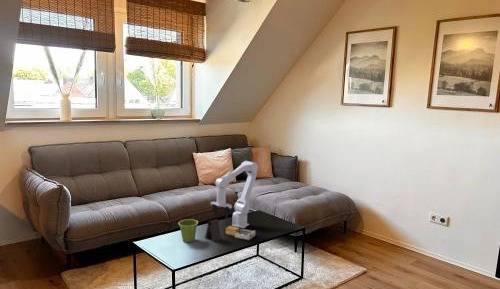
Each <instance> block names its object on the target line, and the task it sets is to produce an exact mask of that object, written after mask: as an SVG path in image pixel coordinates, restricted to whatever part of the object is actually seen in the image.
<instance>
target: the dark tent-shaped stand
mask: <svg viewBox="0 0 500 289" xmlns="http://www.w3.org/2000/svg"><path fill="white" fill-rule="evenodd" d="M219 223H220V221H219V219H217V218H216V219H215V218H214V219H212V220H208V222H207V226H206V227H207V228H206V231H205V235H204V239H205V240H208V241H211V242H212V243H216V242H218V241H221V240H222V234H221V230H220V225H219Z"/></svg>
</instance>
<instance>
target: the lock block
mask: <svg viewBox="0 0 500 289" xmlns="http://www.w3.org/2000/svg"><path fill="white" fill-rule="evenodd" d="M235 233H240V227H236V226H232V225H229V226H227V227H226V228H225V234H226V235H228V236H234V237H235Z"/></svg>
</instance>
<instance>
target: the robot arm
mask: <svg viewBox="0 0 500 289" xmlns="http://www.w3.org/2000/svg"><path fill="white" fill-rule="evenodd" d="M258 170H259V165H258V164H257V163H256V162H253V161H249V160H244V161H243V162H241V164H240V165H239V166H238V167H237V168H235V169H234V170H233V171H227V172H226V174H224V175H222V176H221V177H218V178H217V179H215V182H214V185H215V188H216V201H211V202H210V207H211V210H212V212H213V215H214V218H216V217H217V216H218V211H219V210H218V209H219V207H220V208H221V207H222V208H223V212H224V219H226V220H227V219H228V216H229V214H230V211H231V209H234V212H233V213H232V222H231V226H233V227H237V228H240V229H245V228H246V227H247V226H249V225H250V224H249V223H248V213H249V212H250V206H251V203H250V201H249V199H250V196H251V194H252V191H253V188H254V185H255V181H256V179H257V174H258ZM243 172H245V173H246V174H247V178H246V181H245V184H244V186H243V189H242V193H241V196H240V197H239V198H238V199H237V201H236V202H235V203H234V205H232V204H230V203H227V202H226V200H227V199H226V198H227V197H226V195H227V192H226V191H227V187H228V185H229V184H230V183H232V181H234V180H235V179H236V177H237V176H238V175H240V174H241V173H243Z"/></svg>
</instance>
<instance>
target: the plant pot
mask: <svg viewBox="0 0 500 289" xmlns="http://www.w3.org/2000/svg"><path fill="white" fill-rule="evenodd" d="M198 224H199V221H198V220H196V219H192V218H191V219H189V218H188V219H182V220H180V221H179V222H178V225H179V226H178V227H179V228H180V233H181V234H180V235H181V239H182V242H184V243H192V242H194V241H195V240H196V232H197V227H198Z"/></svg>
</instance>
